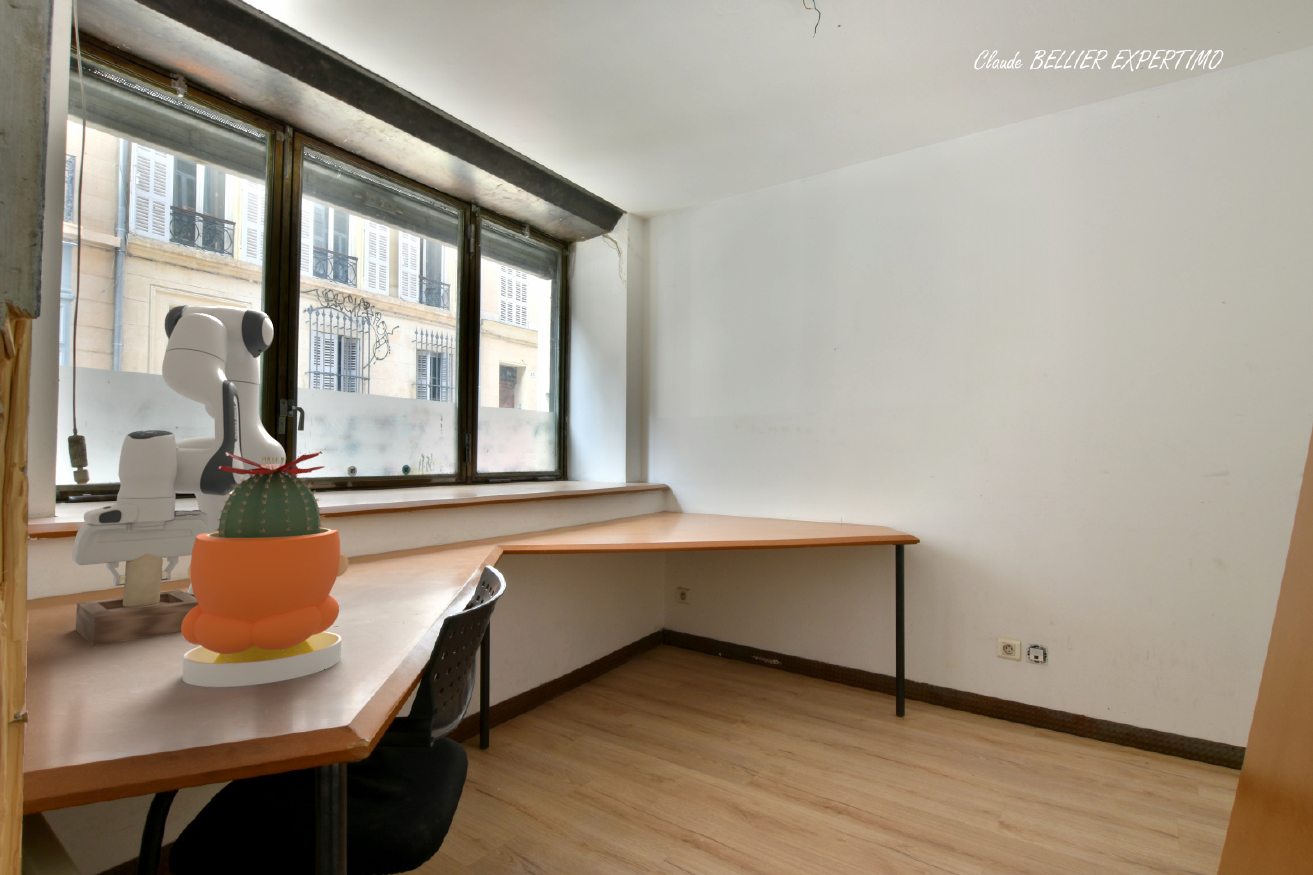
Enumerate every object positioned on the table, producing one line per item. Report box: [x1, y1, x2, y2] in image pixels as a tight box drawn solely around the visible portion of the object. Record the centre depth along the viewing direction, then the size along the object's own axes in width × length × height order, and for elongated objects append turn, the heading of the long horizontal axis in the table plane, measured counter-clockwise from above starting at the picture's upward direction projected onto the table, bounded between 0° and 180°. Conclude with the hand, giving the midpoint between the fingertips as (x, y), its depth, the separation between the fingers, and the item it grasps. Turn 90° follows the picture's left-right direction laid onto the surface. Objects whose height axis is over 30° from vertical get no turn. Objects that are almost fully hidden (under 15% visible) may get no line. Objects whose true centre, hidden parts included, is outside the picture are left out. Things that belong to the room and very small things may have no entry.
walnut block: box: [75, 589, 199, 647], centre depth 117 cm, size 16×16×6 cm
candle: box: [122, 554, 164, 607], centre depth 117 cm, size 6×6×10 cm
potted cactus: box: [180, 451, 349, 688], centre depth 95 cm, size 22×22×35 cm
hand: (142, 582), depth 117 cm, fingers closed on candle, 5 cm apart
